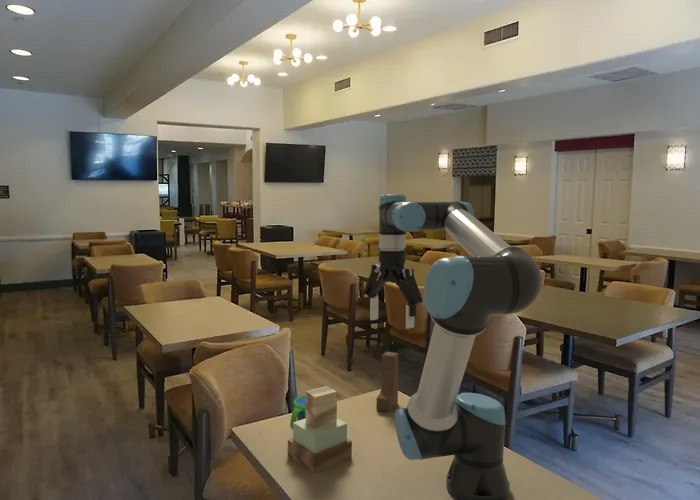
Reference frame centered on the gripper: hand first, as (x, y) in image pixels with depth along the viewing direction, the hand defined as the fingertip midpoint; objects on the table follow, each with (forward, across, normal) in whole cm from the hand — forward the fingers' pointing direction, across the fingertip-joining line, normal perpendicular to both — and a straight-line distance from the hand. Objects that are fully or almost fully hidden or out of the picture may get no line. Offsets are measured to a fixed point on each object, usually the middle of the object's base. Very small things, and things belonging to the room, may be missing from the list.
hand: (391, 323), depth 150 cm
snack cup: (+36, +21, +13) cm, 43 cm away
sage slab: (+31, +8, +20) cm, 38 cm away
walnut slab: (+36, +8, +20) cm, 42 cm away
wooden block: (+36, +18, -18) cm, 44 cm away
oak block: (+26, +8, +20) cm, 34 cm away
